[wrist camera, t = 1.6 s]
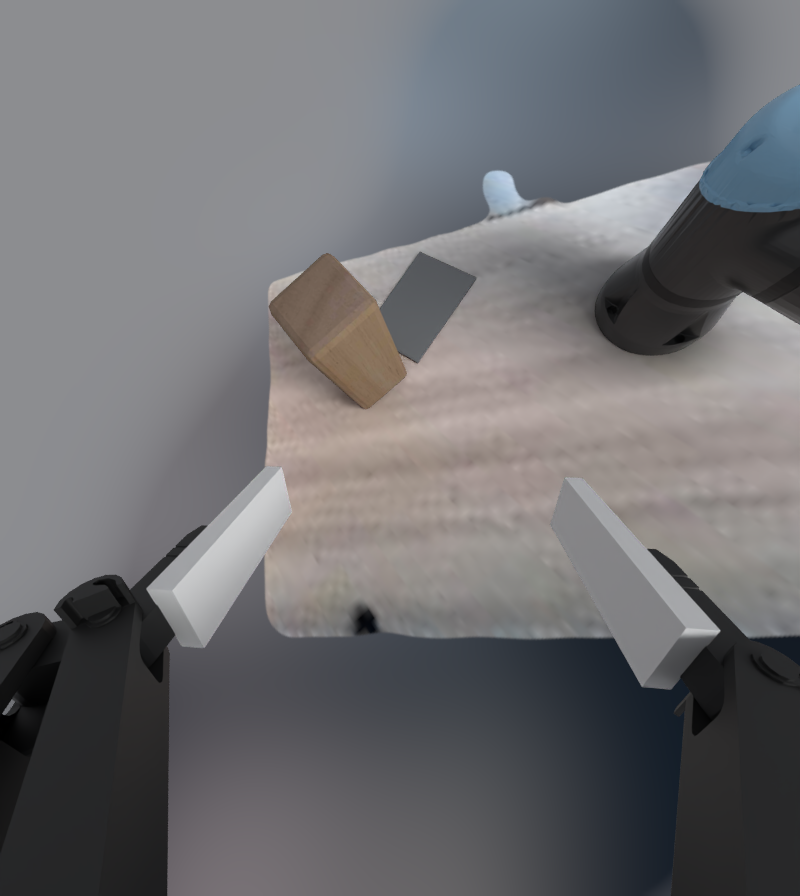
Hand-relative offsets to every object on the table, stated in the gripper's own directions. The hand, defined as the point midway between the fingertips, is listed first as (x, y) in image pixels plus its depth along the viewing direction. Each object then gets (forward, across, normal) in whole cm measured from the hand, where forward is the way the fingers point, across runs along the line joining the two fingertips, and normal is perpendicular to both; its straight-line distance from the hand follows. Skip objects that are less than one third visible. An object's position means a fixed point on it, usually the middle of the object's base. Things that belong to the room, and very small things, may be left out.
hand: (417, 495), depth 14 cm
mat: (+46, -1, +8) cm, 47 cm away
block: (+40, -9, -3) cm, 41 cm away
